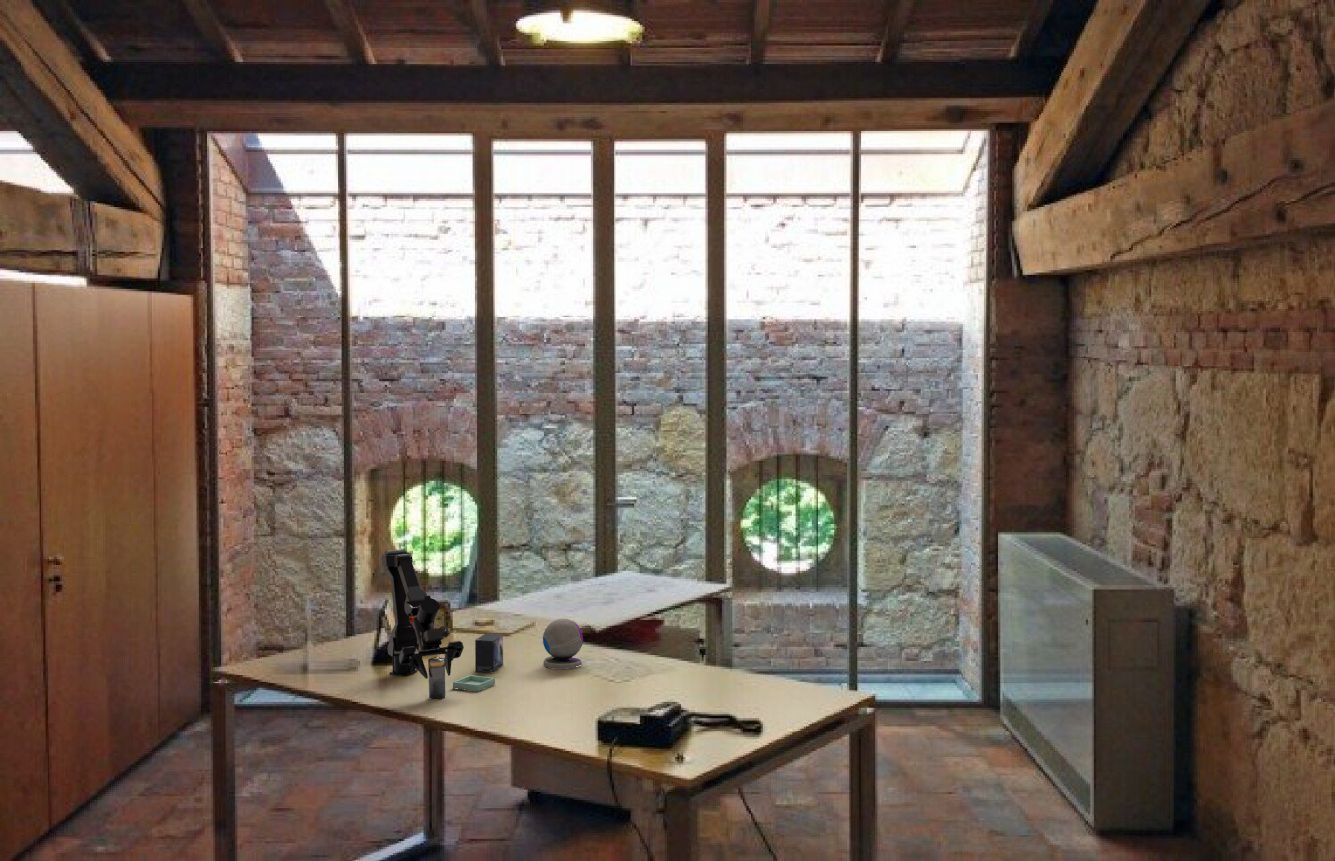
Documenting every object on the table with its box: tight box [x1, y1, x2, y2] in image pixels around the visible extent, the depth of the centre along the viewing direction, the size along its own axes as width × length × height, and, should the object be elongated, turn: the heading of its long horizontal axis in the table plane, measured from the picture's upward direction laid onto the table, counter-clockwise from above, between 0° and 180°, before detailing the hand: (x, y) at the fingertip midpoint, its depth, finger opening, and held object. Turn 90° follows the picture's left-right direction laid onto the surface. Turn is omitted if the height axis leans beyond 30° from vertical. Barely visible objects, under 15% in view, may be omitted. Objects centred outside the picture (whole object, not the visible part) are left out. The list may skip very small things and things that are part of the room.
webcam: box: [542, 618, 584, 670], centre depth 467 cm, size 13×13×15 cm
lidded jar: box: [427, 656, 446, 700], centre depth 429 cm, size 5×5×12 cm
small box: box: [474, 632, 504, 673], centre depth 463 cm, size 11×6×10 cm, turn 168°
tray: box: [452, 674, 496, 693], centre depth 441 cm, size 9×9×2 cm
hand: (438, 676), depth 427 cm, fingers open, 7 cm apart
